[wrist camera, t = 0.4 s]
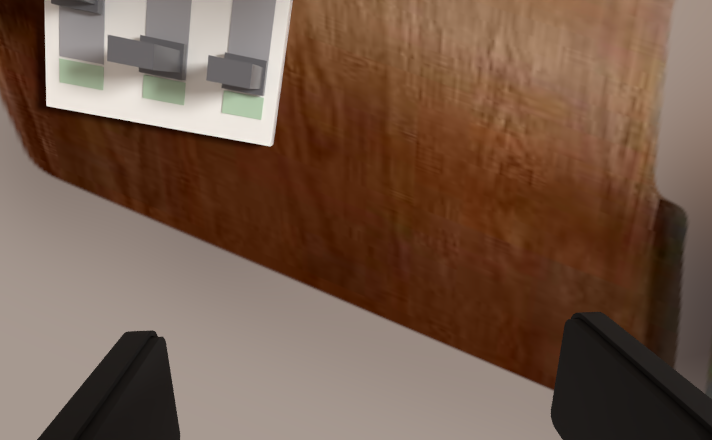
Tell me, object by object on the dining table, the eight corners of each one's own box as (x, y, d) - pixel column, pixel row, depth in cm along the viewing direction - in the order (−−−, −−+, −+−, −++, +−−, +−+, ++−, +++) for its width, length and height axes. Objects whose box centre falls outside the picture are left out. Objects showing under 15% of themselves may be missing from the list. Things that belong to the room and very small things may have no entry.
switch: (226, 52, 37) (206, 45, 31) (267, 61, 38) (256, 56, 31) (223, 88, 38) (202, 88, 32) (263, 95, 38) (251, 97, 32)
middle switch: (144, 36, 36) (104, 24, 30) (187, 44, 37) (157, 35, 30) (142, 72, 37) (104, 69, 31) (184, 80, 38) (155, 79, 31)
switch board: (57, -148, 34) (40, -163, 32) (304, -86, 36) (303, -96, 34) (59, 105, 40) (45, 106, 38) (273, 143, 42) (270, 146, 40)
